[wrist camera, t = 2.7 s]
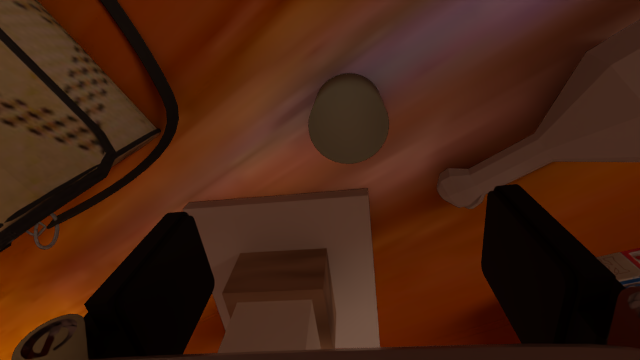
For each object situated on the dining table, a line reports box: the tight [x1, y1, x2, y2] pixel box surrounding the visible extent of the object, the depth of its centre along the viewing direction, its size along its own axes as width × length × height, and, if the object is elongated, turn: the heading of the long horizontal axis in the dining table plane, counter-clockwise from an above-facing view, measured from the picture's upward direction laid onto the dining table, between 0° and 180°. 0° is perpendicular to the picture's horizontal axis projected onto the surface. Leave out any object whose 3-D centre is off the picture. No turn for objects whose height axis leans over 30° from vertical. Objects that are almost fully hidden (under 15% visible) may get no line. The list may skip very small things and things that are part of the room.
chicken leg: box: [437, 20, 640, 209], centre depth 22 cm, size 8×18×8 cm, turn 132°
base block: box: [222, 248, 336, 349], centre depth 30 cm, size 8×8×5 cm
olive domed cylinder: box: [308, 73, 389, 164], centre depth 23 cm, size 5×5×5 cm
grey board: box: [183, 189, 380, 348], centre depth 32 cm, size 18×16×1 cm
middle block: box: [218, 300, 321, 353], centre depth 25 cm, size 6×6×5 cm
